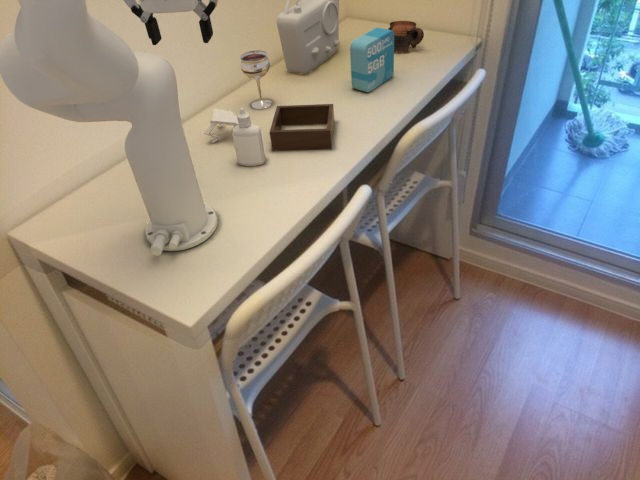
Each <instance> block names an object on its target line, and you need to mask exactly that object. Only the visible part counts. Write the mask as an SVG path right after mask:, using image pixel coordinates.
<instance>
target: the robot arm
mask: <svg viewBox="0 0 640 480" xmlns="http://www.w3.org/2000/svg"><path fill="white" fill-rule="evenodd" d="M17 1H18V3H19V6H20V9H19V11H18V13H17V16H16V20H15V25H14V30H12V31H10V32H9V33H7V34H6V35H5V37H3V39H2V40H1V42H0V76H1V77H0V78H1V79H2V81H3V83H4V84H5V86H6V88H7V90H9V92H10V93H11V94H12V95H13V96H14V98H16V99H17V100H18V101H19V102H20V103H22V104H23V105H25V106H27V107H29V108H31V109H34V110H37V111H40V112H42V113H45V114H48V115H51V116H53V117H56V118H60V119H63V120H66V121H69V122H74V123H75V122H76V123H99V122H127V123H130V124H131V127H130V129H129V130H128V132H127V135H126V136H125V140H124V153H125V157H126V159H127V161H128V164H129V167H130V169H131V172H132V175H133V178H134V180H135V183H136V186H137V187H138V191H139V193H140V194H139V195H140V196H141V199H142V202H143V204H144V207H145V210H146V212H147V215H148V219H149V220H148V222H147V224H146V226H145V229H144V232H145V236H146V239H147V241H148V242H149V244H150V245H151V246H150V248H149V252H150V254H152V255H153V256H160V255H162V253H163V251H167V252H168V251H169V252H176V251H177V252H178V251H182V250H183V251H184V250H187V249H191V248H194V247H197V246H199V245H200V244H202V243H204V242H205V241H207V240H208V239H209V238H210V237H211V236H212V235H213V234H214V233H215V231H216V229H217V227H218V216H217V213H216V211H215V210H214V208H212V207H211V206H209V205H208V204H205V203H204V199H203V195H202V192H201V188H200V184H199V181H198V177H197V173H196V170H195V165H194V163H193V158H192V155H191V152H190V148H189V145H188V141H187V138H186V134H185V130H184V125H183V122H182V116H181V110H180V102H179V94H178V93H179V92H178V82H177V76H176V72H175V69H174V68H173V65H172V64H171V62H170V61H169V60H168V59H167V58H166V57H164V56H162V55H160V54H158V53H156V52H151V51H145V50H144V51H143V50H133V49H132V48H131V46H130V45H129V44H128V43H127V42H126V41H125V40H124V38H122V37H121V36H119V34H117V33H116V32H115V31H113V30H112V29H110V28H109V27H108V26H106V25H105V24H104V23H103V22H101V21H100V20H98V19H97V18H96V17H95V16H94V15H92V14H91V13H90V12H89V11H88V8H87V1H86V0H17ZM123 2H124V3H125V5H126V6H127V7H128V8H129V9H130V11H131V13H132V14H133V15H135V17H137V18H139V20H140V21H141V23H143V24H144V26H145V30H146V33H147V37H148V39H149V40H150V41H151V45H152V46H157V45H158V44H159V42H160V41H162V34H161V29H160V27H159V23H158V19H157V18H156V16H154V14H172V13H189V12H194V14H195V15H197V16H198V17H199V19H200V20H199V21H198V25H199V28H200V29H199V30H200V33H201V34H200V35H201V38H202V43H204V44H209V42H210V41H211V39H212V37H213V35H214V30H213V25H212V21H211V16H212V13H213V12H214V10H215V9H216V7H218V2H219V0H209V1H208V4H206V3H205V2H204V1H203V0H138V2H137V0H123Z"/></svg>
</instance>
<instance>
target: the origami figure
mask: <svg viewBox="0 0 640 480" xmlns="http://www.w3.org/2000/svg"><path fill="white" fill-rule="evenodd" d="M212 114H213V115H212V118H211V120H209V123H210V125H209V126H208V127H207V129H206V130H205V131H204V133H203V134H204V135H207V136H210V137H213V138H214V139H213V140H212V141H211V143H216V142H217V141H218V140H219V139H220V138H221V137H220V136H218V135H215V134H214V133H211V132H212V131H213V129H214V128H215V127H216V126H217V125H218V127H219V128H222V125H223V126H233V128H232V130H233V129H234V127H236V126H237V125H239V123H238V118H237V115H236V114H234V112H233V111H232V110H226V109H219V108H213V113H212Z"/></svg>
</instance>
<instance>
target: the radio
mask: <svg viewBox="0 0 640 480" xmlns="http://www.w3.org/2000/svg"><path fill="white" fill-rule="evenodd" d="M291 2H292V1H291V0H286V2H285V6H284V10H283V12H281V13H279V14H278V15H277V17H276V26H277V31H278V37H279V41H280V46H281V50H282V55H283V60H284V65H285V68H286V71H288V72H290V73H295V74H302V75H308V74H310V73H311V72H312V71H313V70H315V69H316V68H317V67H319V66H320V65H321V64H323V63H324V62H325V61H327V60H328V59H329V58H330V57H331V56H333V55H334V54H335V53H337V51H338V50H339V46H340V45H341V42H340V41H339V38H340V37H339V35H340V0H300V1H299V0H295V4H294V5H292V6H290V3H291Z"/></svg>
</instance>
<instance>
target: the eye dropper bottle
mask: <svg viewBox="0 0 640 480" xmlns="http://www.w3.org/2000/svg"><path fill="white" fill-rule="evenodd" d="M236 117H237V118H238V123H239V125H237V126H235V127H234V126H233V127H234V129H233V128H232V131H231V132H232V133H231V135H232V141H233V144H234V150H235V155H236V159H237V164H239V165H241V166H245V167H255V166H261V165H263V164H264V163H265V162H266V152H265V147H264V146H265V145H264V141H263V135H262V129H261V128H260V127H259V126H258V125H256V124H254V123H252V120H251V115H250V113H249V112H246V110H245V108H244V107H240V108H239V113H238V114H237V115H236Z"/></svg>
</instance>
